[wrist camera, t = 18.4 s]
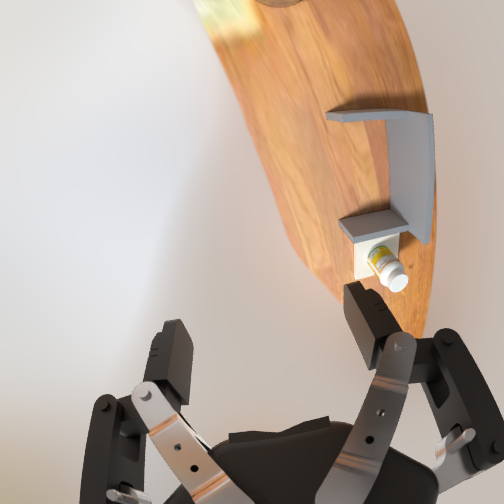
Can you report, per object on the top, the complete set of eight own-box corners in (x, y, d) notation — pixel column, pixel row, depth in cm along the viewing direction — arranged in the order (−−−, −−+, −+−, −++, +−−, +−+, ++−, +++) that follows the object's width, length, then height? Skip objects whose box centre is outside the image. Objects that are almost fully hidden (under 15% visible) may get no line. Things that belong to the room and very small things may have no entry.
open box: (325, 112, 37) (357, 116, 27) (389, 108, 37) (432, 114, 27) (338, 225, 48) (365, 260, 37) (394, 213, 47) (429, 243, 37)
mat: (354, 235, 49) (356, 238, 48) (397, 225, 49) (399, 227, 48) (354, 277, 54) (356, 280, 53) (394, 266, 54) (396, 268, 53)
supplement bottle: (367, 245, 49) (389, 273, 41) (389, 242, 49) (414, 268, 41) (364, 268, 52) (384, 297, 44) (386, 264, 52) (408, 292, 44)
